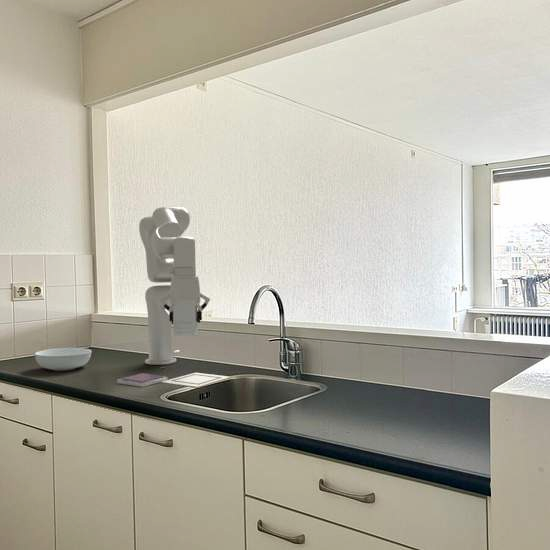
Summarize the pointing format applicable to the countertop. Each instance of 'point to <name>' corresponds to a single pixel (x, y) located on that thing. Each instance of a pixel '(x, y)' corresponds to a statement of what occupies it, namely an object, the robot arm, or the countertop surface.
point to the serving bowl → (63, 358)
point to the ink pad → (142, 379)
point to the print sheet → (196, 379)
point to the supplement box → (185, 317)
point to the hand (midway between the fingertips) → (185, 322)
